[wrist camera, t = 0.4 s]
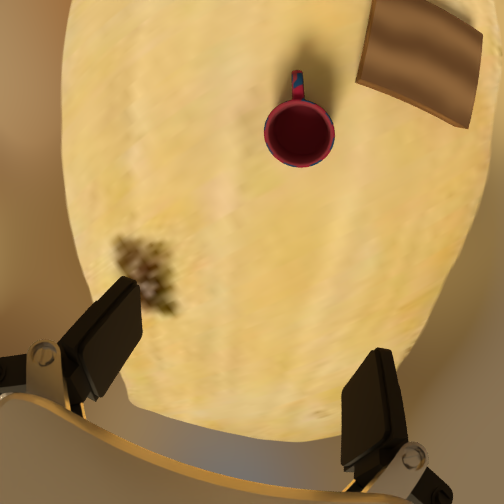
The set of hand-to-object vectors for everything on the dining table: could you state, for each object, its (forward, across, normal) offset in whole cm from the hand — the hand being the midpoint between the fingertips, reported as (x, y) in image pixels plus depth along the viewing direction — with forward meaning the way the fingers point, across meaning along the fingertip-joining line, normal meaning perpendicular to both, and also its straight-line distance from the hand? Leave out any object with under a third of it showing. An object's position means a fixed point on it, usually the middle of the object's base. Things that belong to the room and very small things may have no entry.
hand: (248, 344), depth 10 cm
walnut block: (+27, -11, -21) cm, 36 cm away
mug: (+27, +1, -8) cm, 28 cm away
